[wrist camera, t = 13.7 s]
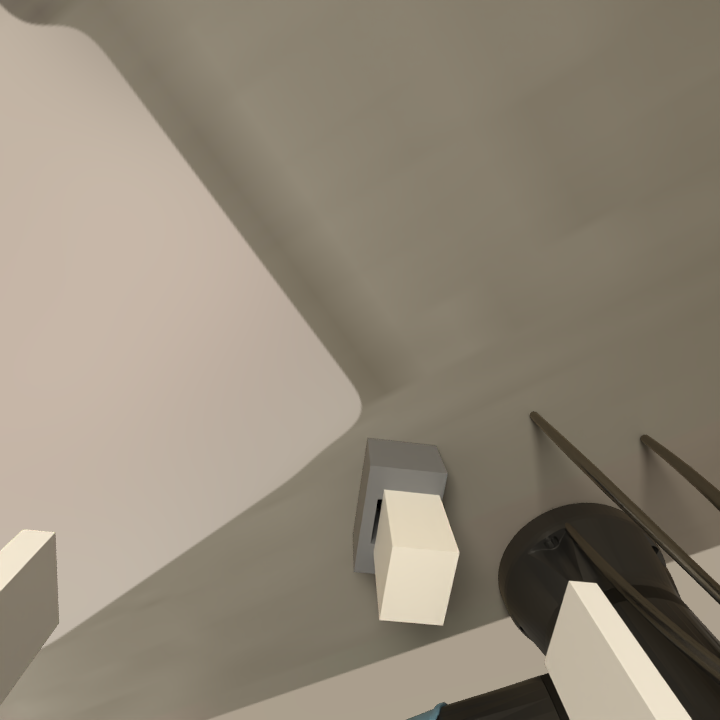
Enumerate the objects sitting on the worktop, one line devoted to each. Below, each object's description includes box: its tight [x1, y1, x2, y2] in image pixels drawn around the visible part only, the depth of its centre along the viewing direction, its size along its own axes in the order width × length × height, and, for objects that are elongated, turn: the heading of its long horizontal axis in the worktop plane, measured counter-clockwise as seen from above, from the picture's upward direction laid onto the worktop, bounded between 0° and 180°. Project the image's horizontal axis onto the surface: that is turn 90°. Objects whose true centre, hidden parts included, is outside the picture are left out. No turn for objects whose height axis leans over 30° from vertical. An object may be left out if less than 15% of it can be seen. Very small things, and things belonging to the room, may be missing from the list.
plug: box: [374, 490, 459, 625], centre depth 38 cm, size 4×6×12 cm
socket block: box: [353, 438, 448, 574], centre depth 42 cm, size 6×10×5 cm, turn 172°
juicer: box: [530, 411, 720, 686], centre depth 29 cm, size 10×11×30 cm
